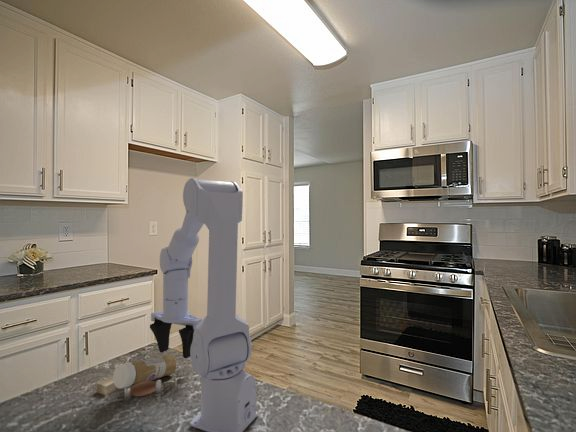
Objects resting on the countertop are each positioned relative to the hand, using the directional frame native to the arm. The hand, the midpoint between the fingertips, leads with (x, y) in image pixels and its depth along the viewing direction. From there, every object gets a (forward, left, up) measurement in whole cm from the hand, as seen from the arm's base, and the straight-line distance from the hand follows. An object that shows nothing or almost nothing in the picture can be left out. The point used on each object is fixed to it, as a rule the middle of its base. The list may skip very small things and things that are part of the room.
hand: (175, 353), depth 76 cm
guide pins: (0, +9, -4) cm, 10 cm away
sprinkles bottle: (0, +2, -2) cm, 2 cm away
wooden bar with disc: (0, +9, -4) cm, 10 cm away
